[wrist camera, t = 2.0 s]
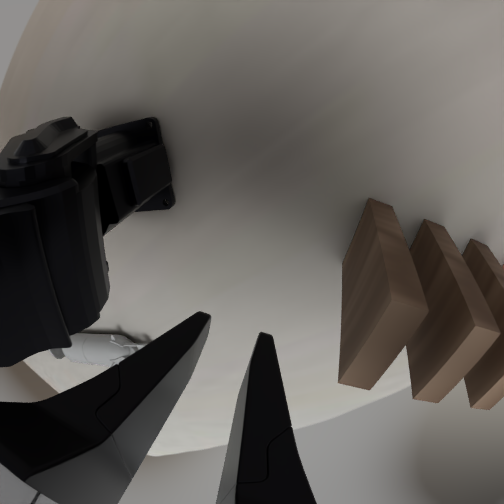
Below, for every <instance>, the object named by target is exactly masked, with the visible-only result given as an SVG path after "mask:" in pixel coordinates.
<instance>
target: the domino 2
mask: <svg viewBox="0 0 504 504" xmlns="http://www.w3.org/2000/svg"><path fill="white" fill-rule="evenodd" d="M409 251H410V254H411V257H412V260H413V262H414V265H415V268H416V271H417V274H418V277H419V280H420V283H421V286H422V290H423V293H424V296H425V299H426V303H427V306H428V310H429V312H428V314H427V315H426V317H425V318H424V320H423V321H422V322H421V324H420V325H419V327H418V328H417V330H416V331H415V333H414V334H413V335H412V337H411V338H410V340H409V341H408V342H407V344H406V349H407V355H408V362H409V370H410V378H411V387H412V396H413V399H416V400H422V401H428V402H433V403H439V402H440V401H441V400H442V399H443V398H444V397H445V396H446V395H447V394H448V393H449V392H450V391H451V390H452V389H453V388H454V387H455V386H456V385H457V384H458V383H459V381H461V379H462V378H463V377H464V376H465V375H466V374H467V373H468V372H469V371H470V370H471V369H472V368H473V366H474V365H475V364H476V363H477V362H478V361H479V360H480V358H481V357H482V356H483V355H484V354H485V353H486V351H487V350H488V349H489V348H490V347H491V345H492V344H493V343H494V342H495V340H496V339H497V338H498V337H499V335H500V334H501V332H500V330H499V328H498V326H497V323H496V321H495V319H494V317H493V315H492V313H491V310H490V308H489V306H488V304H487V302H486V300H485V298H484V296H483V294H482V292H481V290H480V288H479V286H478V284H477V283H476V281H475V279H474V277H473V275H472V273H471V271H470V270H469V268H468V266H467V264H466V262H465V261H464V259H463V257H462V255H461V254H460V252H459V250H458V249H457V247H456V245H455V244H454V242H453V240H452V239H451V237H450V235H449V234H448V232H447V231H446V229H445V227H443V226H441V225H438V224H436V223H433V222H431V221H429V220H426V219H424V221H423V223H422V225H421V227H420V229H419V232H418V234H417V236H416V238H415V240H414V242H413V244H412V246H411V248H410V250H409Z"/></svg>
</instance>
